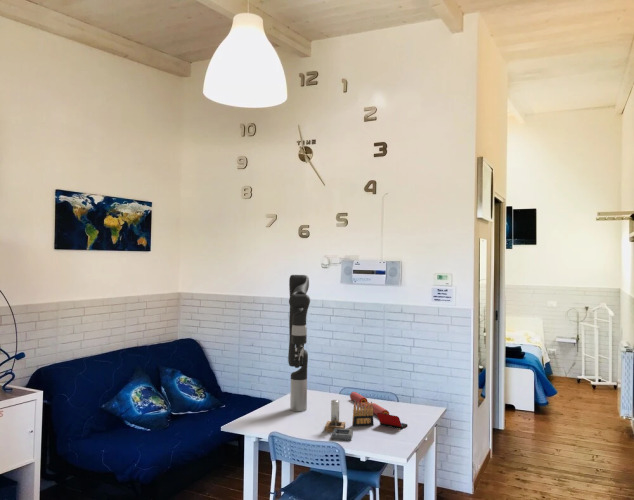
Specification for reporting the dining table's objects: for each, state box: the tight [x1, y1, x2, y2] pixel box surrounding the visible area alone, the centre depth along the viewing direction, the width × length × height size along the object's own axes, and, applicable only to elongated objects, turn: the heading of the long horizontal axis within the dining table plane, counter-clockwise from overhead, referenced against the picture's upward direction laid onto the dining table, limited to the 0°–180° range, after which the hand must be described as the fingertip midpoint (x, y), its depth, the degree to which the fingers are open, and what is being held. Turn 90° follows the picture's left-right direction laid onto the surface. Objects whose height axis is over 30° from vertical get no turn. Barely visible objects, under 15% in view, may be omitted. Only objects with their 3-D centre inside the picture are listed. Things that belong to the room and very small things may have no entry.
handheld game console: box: [376, 413, 408, 430], centre depth 274 cm, size 12×11×7 cm
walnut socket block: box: [324, 420, 346, 433], centre depth 268 cm, size 9×9×2 cm
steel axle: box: [330, 399, 340, 426], centre depth 268 cm, size 4×4×14 cm
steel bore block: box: [331, 428, 354, 441], centre depth 256 cm, size 9×9×2 cm
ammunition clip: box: [352, 401, 375, 427], centre depth 274 cm, size 11×2×12 cm, turn 101°
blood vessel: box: [349, 391, 390, 416], centre depth 306 cm, size 42×5×5 cm, turn 20°
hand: (298, 366), depth 272 cm, fingers open, 8 cm apart
